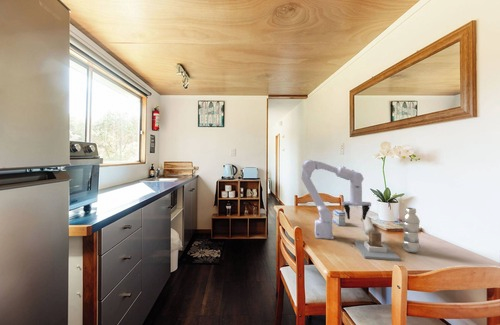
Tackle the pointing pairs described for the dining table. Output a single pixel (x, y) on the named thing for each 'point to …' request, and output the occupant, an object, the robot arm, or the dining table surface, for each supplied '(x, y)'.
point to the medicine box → (339, 217)
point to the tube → (367, 224)
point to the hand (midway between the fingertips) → (356, 219)
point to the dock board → (376, 251)
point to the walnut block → (374, 238)
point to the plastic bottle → (411, 231)
